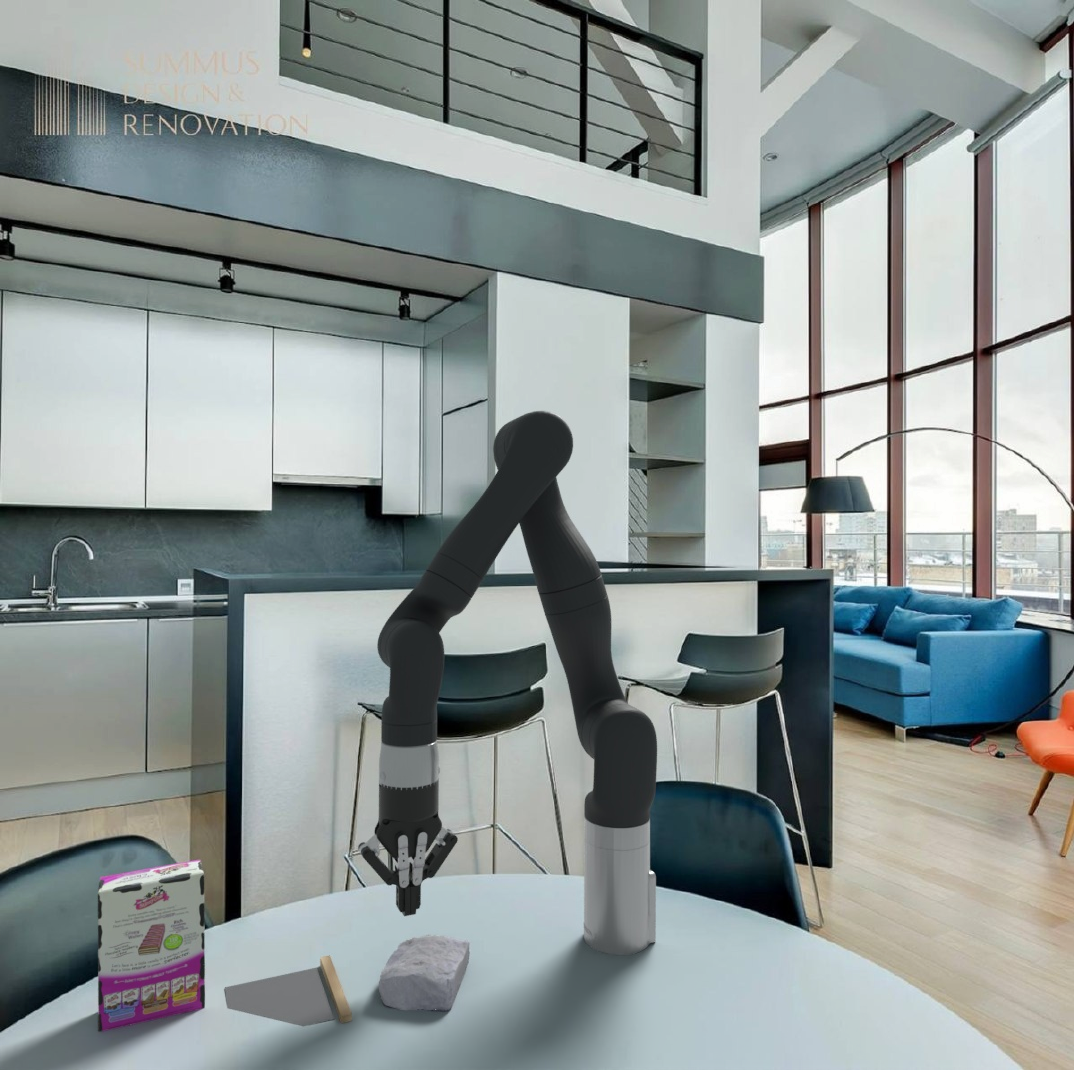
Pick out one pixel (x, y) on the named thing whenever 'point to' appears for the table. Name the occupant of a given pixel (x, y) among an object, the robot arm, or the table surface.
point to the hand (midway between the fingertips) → (407, 912)
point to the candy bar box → (150, 944)
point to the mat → (283, 998)
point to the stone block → (424, 973)
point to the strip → (335, 989)
